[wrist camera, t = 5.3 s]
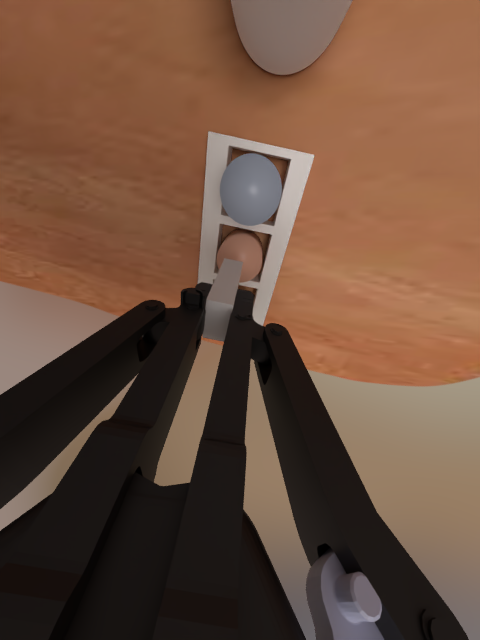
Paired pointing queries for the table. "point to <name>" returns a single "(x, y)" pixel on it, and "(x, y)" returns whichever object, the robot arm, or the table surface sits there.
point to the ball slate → (250, 189)
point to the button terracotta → (242, 252)
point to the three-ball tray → (278, 229)
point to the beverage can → (287, 30)
